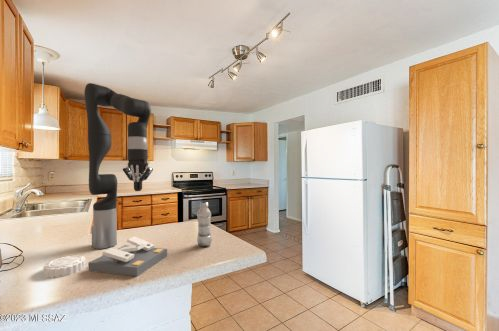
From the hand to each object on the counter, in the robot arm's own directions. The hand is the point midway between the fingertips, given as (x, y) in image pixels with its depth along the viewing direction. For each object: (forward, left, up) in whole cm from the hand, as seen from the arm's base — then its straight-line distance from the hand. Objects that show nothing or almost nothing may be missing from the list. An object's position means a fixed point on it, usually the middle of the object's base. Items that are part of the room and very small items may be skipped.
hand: (138, 190), depth 97 cm
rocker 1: (+1, -12, -22) cm, 25 cm away
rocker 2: (+1, 0, -22) cm, 22 cm away
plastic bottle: (+21, +18, -27) cm, 39 cm away
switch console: (+1, -6, -27) cm, 28 cm away
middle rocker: (+1, -6, -22) cm, 22 cm away
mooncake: (-18, -16, -28) cm, 37 cm away
